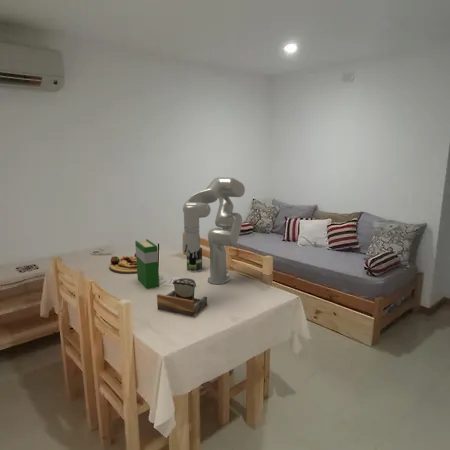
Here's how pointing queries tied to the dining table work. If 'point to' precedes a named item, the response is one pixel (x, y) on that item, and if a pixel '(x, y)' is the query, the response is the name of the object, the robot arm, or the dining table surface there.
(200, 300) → the tray
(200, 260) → the coffee can
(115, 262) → the wooden plate with food
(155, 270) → the hardback book
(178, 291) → the food container
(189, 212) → the robot arm
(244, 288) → the dining table surface
